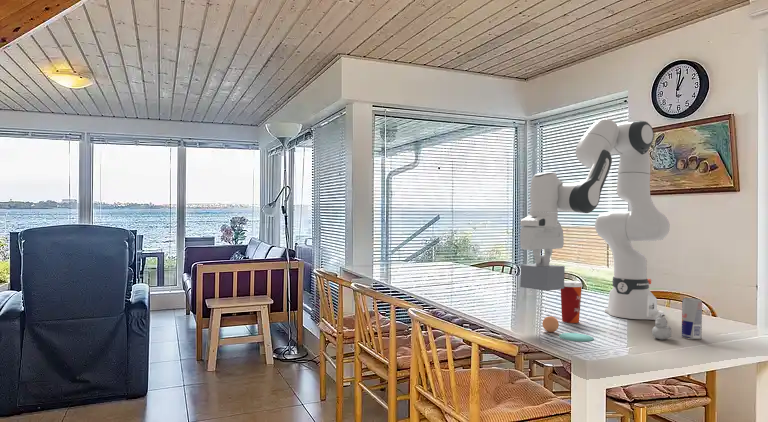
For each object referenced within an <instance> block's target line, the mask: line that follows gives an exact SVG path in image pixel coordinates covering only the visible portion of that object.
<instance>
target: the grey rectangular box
mask: <svg viewBox="0 0 768 422" xmlns="http://www.w3.org/2000/svg"><path fill="white" fill-rule="evenodd" d="M540 255H541V254H540ZM541 258H542V263H540V264H538V263H530V264H529V263H528V264H520V283H519V284H520V285H519V286H520V288H525V289H533V290H538V291H539V290H540V291H545V292H549V291H556V290H561V289H564V281H565V274H566V273H565V272H566V271H565V269H566V267H565V265H555V264H550V262H549V256H545V254H544V255H541Z"/></svg>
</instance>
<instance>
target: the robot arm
mask: <svg viewBox="0 0 768 422" xmlns="http://www.w3.org/2000/svg"><path fill="white" fill-rule="evenodd" d="M654 137H655V133H654V129H653V127H652V125H651V124H650V123H649V122H648V121H644V120H634V121H628V122H627V121H626V122H620V123H616V122H615V121H613V120H611V119H609V118H601V119H598V120H596V121H595V122H594V123H592V125H591V126H590V127H589V128H588V129H587V130H586V131H585V133H584V134H583V135H582V137H581V138H580V139H579V141H578V143H577V145H576V147H575V155H576V158H577V160H578V161H579V162H580V163H581V164H582V165H583V166H584V167H586V168H587V169H588V168H589V172H588V173H587V174H588V175H587V176H586V178H585V179H584V180H582V181H578V182H564V181H562V180H561V179H559V177H558V176H557V175H558V174H557V172H555V171H546V172H545V171H543V172H537V173H535V174H533V176H532V178H531V181H530V191H529V199H530V209H529V214H528V215H527V216H526V217H523V218H522V219H520V227H521V229H520V235H519V236H520V248H521V249H522V250H524V251H525V250H526V251H532V254H533V256H534V259H535V260H534V264H536V263H538V264H540V263H542V258H541V253H542V250H544V256H549V263H550V262H551V256H552V254H553V250H556V249H557V250H559V249H563V247H564V246H565V243H564V242H565V239H564V237H565V236H564V230H563V228H562V224H561V223H560V221H558V216H559V215H558V214H559V213H558V212H565V213H569V212H570V213H572V212H573V213H581V214H589V213H590V214H591V213H592V212H593V211H594V210H595V209H596V208H597V207H598V205H599V203H600V201H601V200H600V199H601V194H602V190H603V188H604V185H605V182H606V180H607V177H608V175H609V172H610V170H611V167H612V164H613V163H612V161H613V159H612V155H619V158H620V159H619V163H618V168H617V169H618V171H617V181H616V183H617V184H616V185H617V186H616V193H617V196H618V197H619V199H621V200H623V201H625V202H626V203H629V204H630V205H631V210H630V211H629V210H627V211H626V210H611V211H606V212H601V213H600V214H599V215H598V216H597V217H596V219H595V222H594V223H595V224H594V229H595V232H596V233H597V235H598V236H599V237H600V238H601V239H602V240H604V242H605V243H607V245H608V246H609V248H610V250H611V253H612V257H613V277H612V281H611V282H612V289H611V290H609V293H608V304H607V308H605V309H604V313H607V314H608V315H610V316H611V317H612V316H613V317H616V318H623V319H630V320H653V321H656V319H657V318H658V316H660V314H661V316H662V317H663V316H664V315H665V311H664V310H660V309H659V310H658V299H657V297H656V296H655V295H654V293H652V292H651V290H650V285H651V284H652V281H653V280H652V279H651V278H647V277H648V276H647V275H648V274H647V273H648V270H647V269H648V267H647V266H648V260H647V258H646V256H645V254H643V253H642V252H640V251H639V250H636V249H635V248H634V247H633V246H632V243H631V242H656V241H661V240H664V239H665V238H666V237H667V236H668V234H669V233H670V222H669V219H668V218H667V216H666V215H665V214H664V213H662V212H661V211H660V210H659V209H658V208H657V207H656V206H655V204H654V202H653V200H652V196H651V160H650V153H649V149H650V147H651V146H652V144H653V142H654Z"/></svg>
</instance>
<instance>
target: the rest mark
mask: <svg viewBox="0 0 768 422" xmlns="http://www.w3.org/2000/svg"><path fill="white" fill-rule="evenodd" d="M558 337H559V338H561V339H563V340H566V341H571V342H585V343H586V342H591V341H594V339H595V338H594V337H593V336H592V335H589V334H585V333H584V334H583V333H579V332H578V333H577V332H563V333H560V334H558Z"/></svg>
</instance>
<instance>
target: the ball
mask: <svg viewBox="0 0 768 422" xmlns="http://www.w3.org/2000/svg"><path fill="white" fill-rule="evenodd" d="M541 325H542V327H543V329H544V330H545V331H546V332H549V333H554V332H556V331H557V330H558V329H559V326H560V324H559V321H558V319H557V318H556V317H554V316H550V315H549V316H546V317H545V318H544V319H543V320H542V324H541Z"/></svg>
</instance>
